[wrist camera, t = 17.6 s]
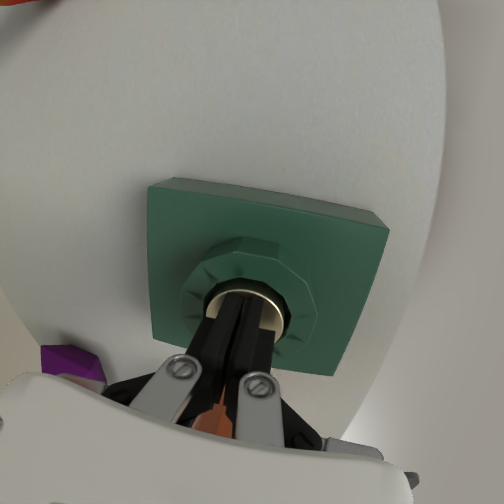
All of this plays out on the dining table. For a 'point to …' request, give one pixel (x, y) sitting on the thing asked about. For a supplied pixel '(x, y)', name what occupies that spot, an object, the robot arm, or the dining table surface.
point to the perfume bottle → (71, 362)
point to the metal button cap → (248, 289)
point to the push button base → (261, 263)
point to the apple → (13, 2)
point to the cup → (215, 421)
